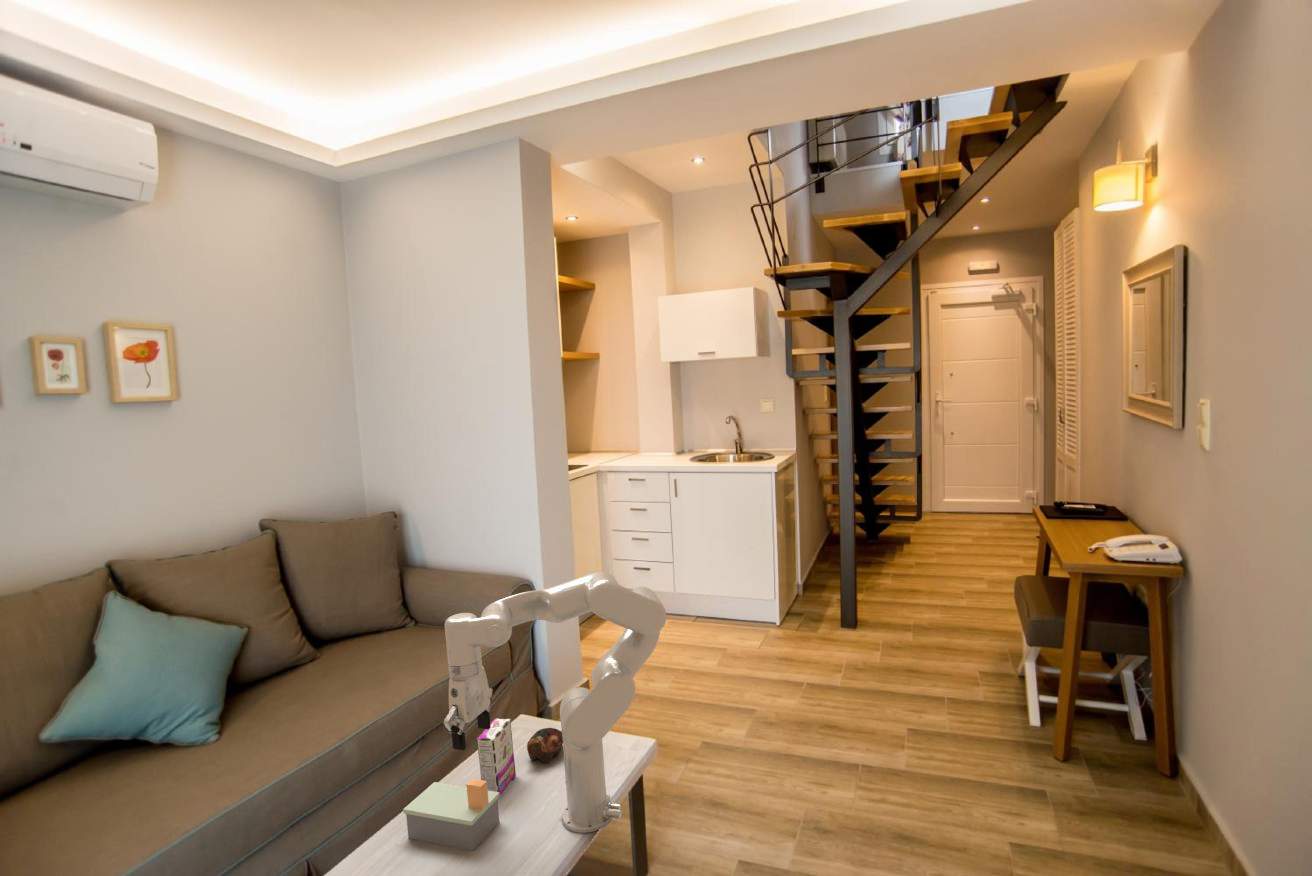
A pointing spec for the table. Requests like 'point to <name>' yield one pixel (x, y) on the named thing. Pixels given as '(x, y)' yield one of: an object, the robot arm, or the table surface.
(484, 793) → the lid
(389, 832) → the table surface
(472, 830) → the parts tub
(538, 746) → the decorative turtle
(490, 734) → the candy bar box
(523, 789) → the table surface
